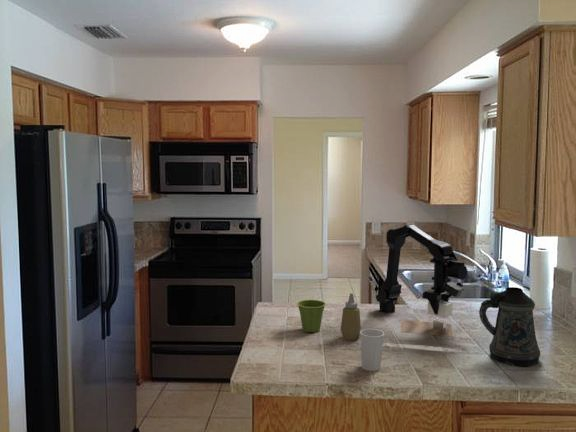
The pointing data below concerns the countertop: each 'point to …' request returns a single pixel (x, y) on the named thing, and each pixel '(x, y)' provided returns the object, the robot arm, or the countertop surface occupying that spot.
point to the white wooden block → (439, 325)
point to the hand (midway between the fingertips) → (439, 312)
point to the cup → (371, 349)
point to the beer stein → (512, 328)
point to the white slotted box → (442, 309)
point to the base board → (424, 328)
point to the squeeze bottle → (351, 320)
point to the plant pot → (311, 314)
